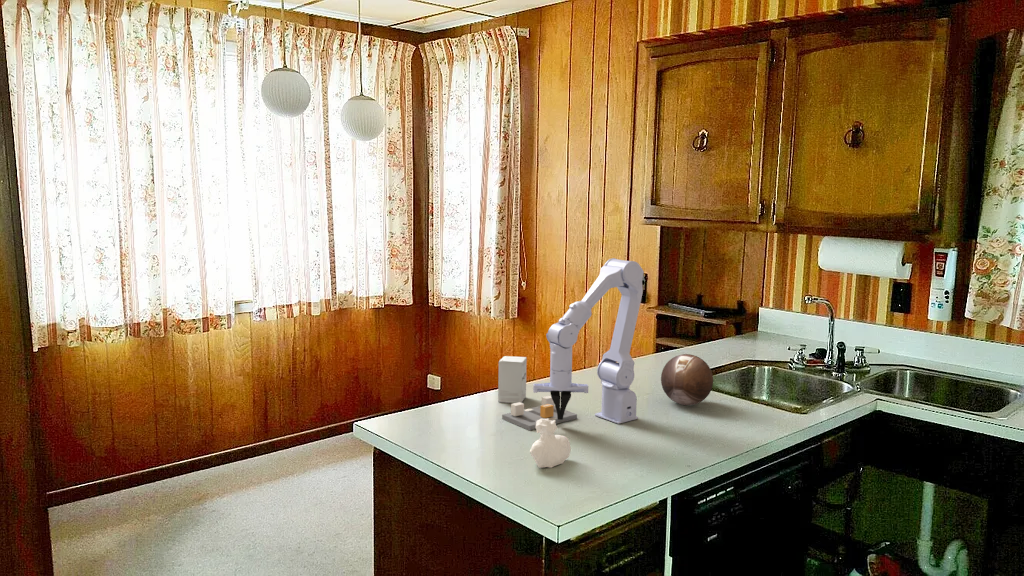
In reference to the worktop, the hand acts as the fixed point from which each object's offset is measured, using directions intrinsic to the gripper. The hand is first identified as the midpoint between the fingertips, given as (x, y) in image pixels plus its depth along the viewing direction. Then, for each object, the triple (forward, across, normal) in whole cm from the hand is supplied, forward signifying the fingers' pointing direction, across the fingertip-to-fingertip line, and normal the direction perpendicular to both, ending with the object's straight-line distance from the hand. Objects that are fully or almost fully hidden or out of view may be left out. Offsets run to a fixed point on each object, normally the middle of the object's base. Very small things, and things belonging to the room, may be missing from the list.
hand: (560, 418), depth 195 cm
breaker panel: (+2, +5, -7) cm, 9 cm away
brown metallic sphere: (+2, -39, -22) cm, 45 cm away
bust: (+3, +4, +26) cm, 26 cm away
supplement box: (+3, +13, -25) cm, 28 cm away
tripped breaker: (+1, +3, -4) cm, 5 cm away
